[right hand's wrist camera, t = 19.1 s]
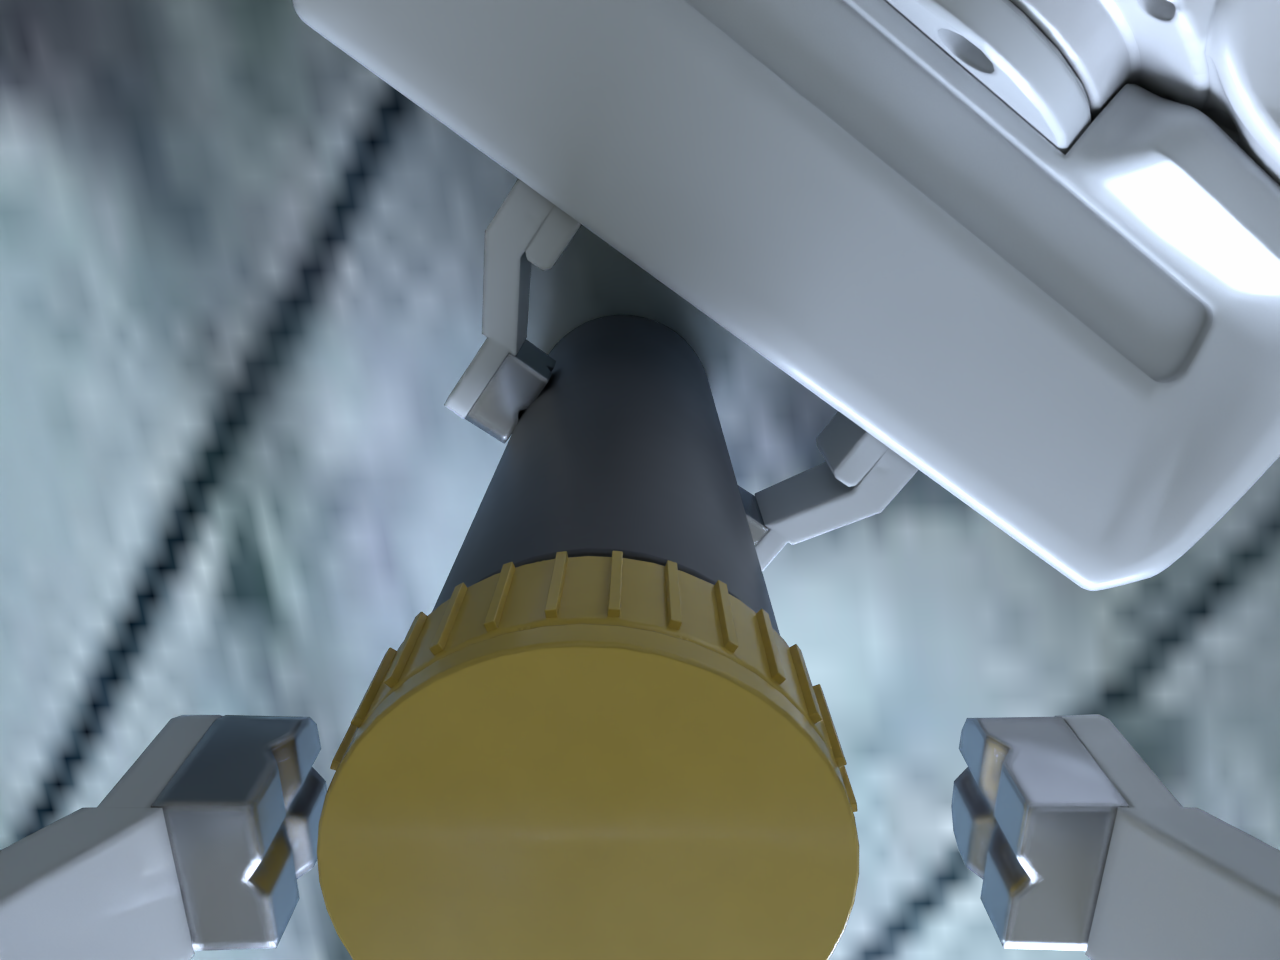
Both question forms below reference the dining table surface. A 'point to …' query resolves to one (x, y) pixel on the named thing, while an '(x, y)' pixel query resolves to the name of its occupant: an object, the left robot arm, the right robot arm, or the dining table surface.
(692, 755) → the lid
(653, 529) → the jar
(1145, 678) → the dining table surface
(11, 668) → the dining table surface
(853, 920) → the dining table surface
